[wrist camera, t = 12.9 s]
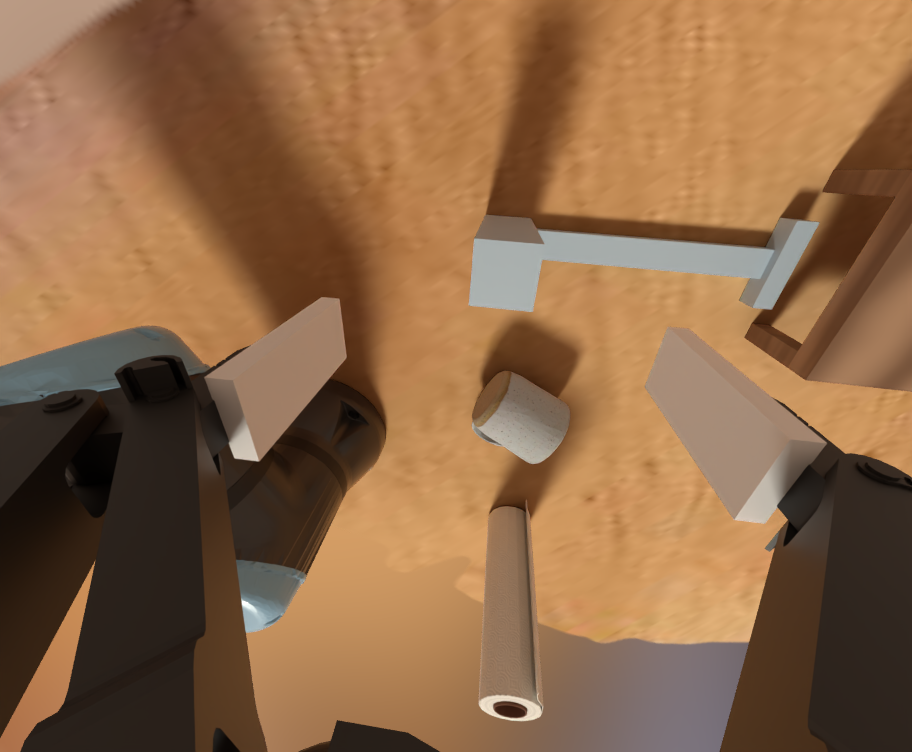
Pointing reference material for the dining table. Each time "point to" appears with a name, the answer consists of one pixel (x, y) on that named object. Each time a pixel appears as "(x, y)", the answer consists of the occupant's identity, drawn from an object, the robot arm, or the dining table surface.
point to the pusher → (624, 259)
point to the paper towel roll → (510, 621)
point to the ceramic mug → (520, 417)
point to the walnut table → (861, 300)
